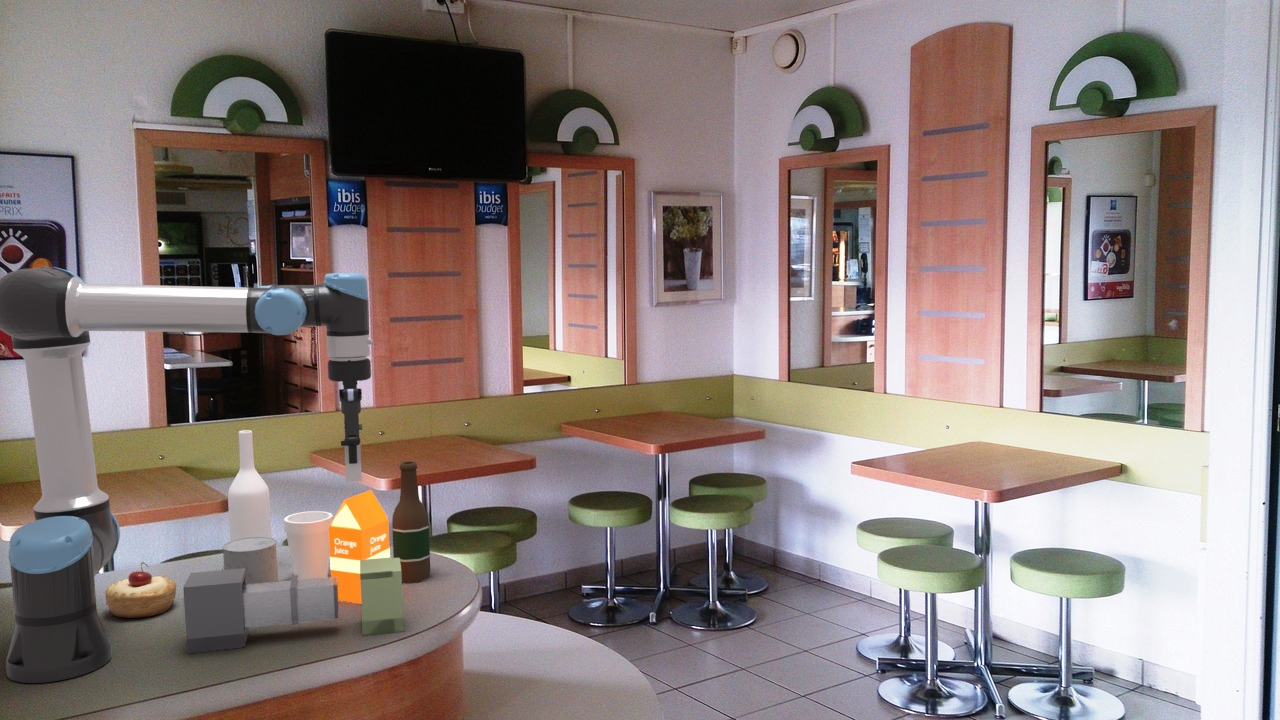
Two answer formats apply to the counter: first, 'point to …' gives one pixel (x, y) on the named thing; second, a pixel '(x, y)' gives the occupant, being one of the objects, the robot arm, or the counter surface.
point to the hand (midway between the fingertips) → (353, 472)
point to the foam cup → (309, 543)
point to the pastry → (140, 595)
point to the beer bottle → (411, 529)
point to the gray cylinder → (252, 558)
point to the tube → (288, 601)
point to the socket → (381, 595)
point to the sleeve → (214, 610)
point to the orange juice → (356, 541)
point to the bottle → (248, 496)
